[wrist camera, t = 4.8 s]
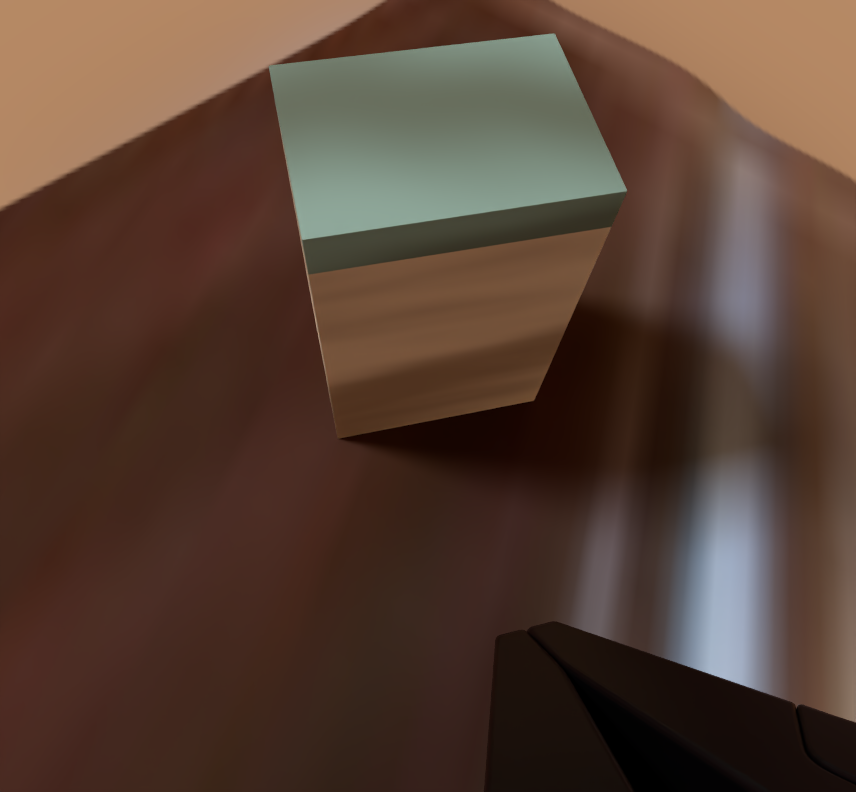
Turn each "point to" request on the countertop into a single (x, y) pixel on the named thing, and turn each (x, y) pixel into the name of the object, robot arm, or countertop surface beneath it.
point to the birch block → (443, 221)
